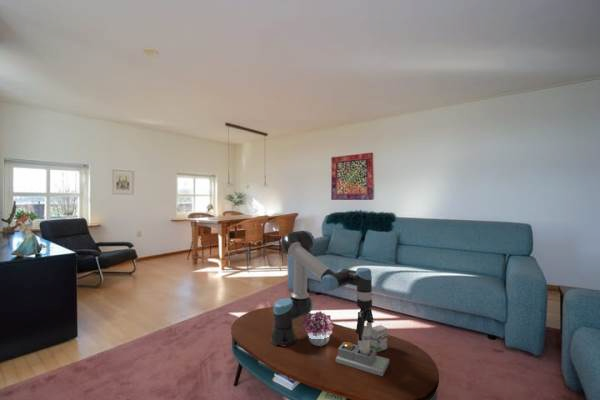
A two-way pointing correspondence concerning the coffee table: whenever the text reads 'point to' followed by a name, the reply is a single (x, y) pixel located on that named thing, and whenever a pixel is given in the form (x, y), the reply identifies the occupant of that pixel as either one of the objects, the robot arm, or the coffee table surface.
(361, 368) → the housing
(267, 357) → the coffee table surface
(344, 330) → the coffee table surface
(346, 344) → the orange piece
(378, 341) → the ink box
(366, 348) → the cartridge
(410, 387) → the coffee table surface
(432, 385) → the coffee table surface
